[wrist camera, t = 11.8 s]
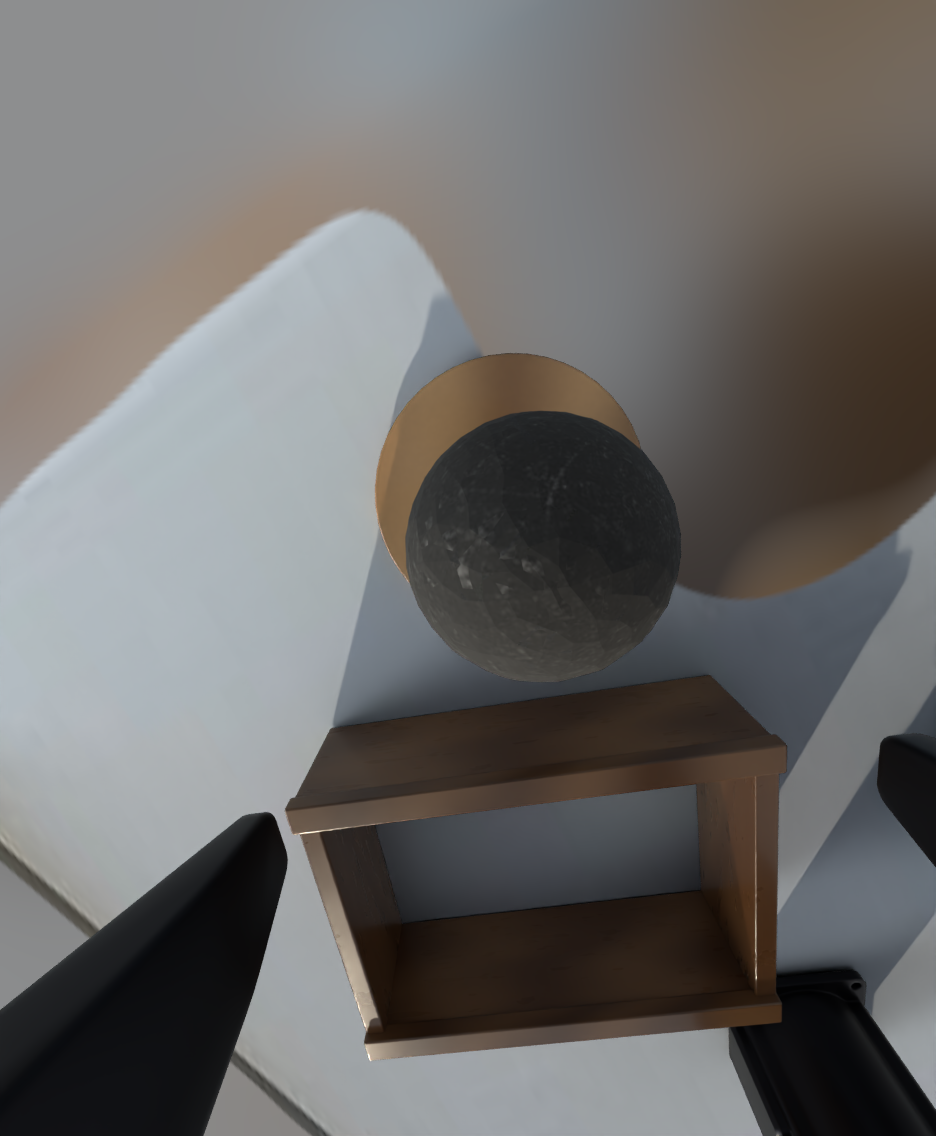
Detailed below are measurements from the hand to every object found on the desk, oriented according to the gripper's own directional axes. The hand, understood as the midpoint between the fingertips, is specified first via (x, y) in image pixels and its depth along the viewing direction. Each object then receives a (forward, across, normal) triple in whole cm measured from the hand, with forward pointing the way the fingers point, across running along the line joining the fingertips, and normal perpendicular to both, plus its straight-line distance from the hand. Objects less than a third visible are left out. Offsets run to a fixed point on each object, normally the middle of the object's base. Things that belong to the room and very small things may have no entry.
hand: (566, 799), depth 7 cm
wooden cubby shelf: (+12, +1, +12) cm, 17 cm away
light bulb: (+11, 0, -3) cm, 12 cm away
